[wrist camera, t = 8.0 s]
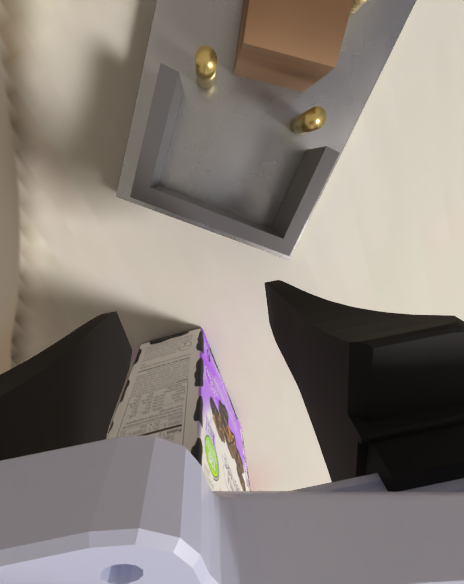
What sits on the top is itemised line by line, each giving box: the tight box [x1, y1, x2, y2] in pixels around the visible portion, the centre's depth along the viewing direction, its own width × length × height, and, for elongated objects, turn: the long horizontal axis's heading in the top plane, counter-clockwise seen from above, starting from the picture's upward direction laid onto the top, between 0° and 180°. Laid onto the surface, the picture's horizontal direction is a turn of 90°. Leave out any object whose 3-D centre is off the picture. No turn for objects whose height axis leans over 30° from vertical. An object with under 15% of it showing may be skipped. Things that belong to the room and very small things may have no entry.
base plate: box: [116, 0, 416, 260], centre depth 14 cm, size 19×12×4 cm, turn 159°
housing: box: [130, 63, 340, 256], centre depth 15 cm, size 6×9×3 cm, turn 68°
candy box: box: [106, 328, 250, 491], centre depth 18 cm, size 14×6×16 cm, turn 15°
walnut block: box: [233, 0, 353, 92], centre depth 12 cm, size 4×4×4 cm
